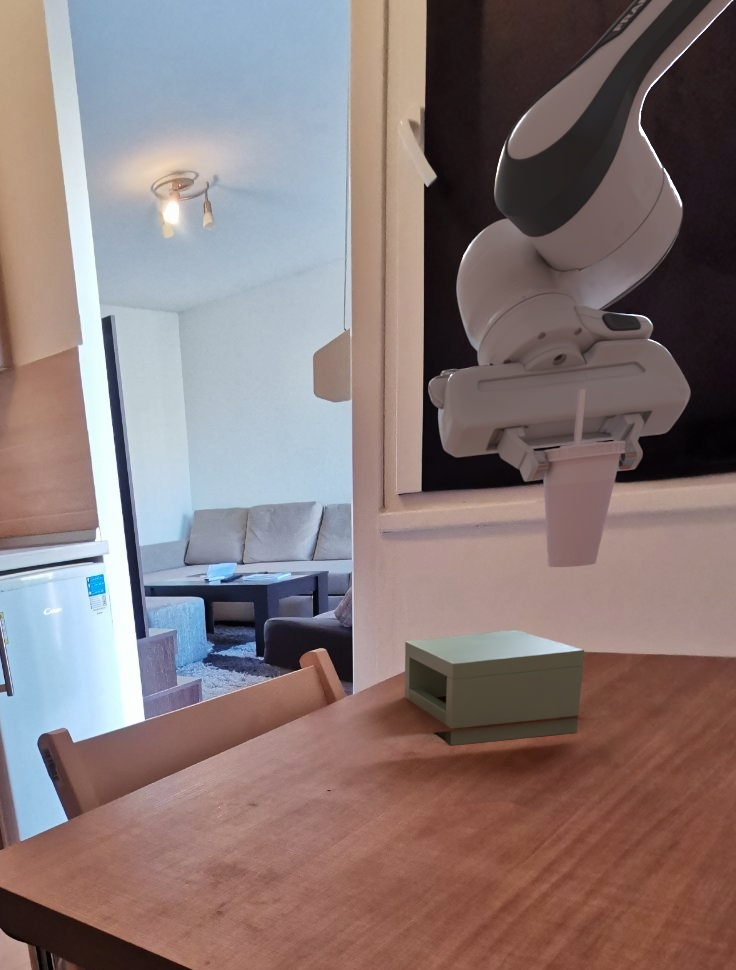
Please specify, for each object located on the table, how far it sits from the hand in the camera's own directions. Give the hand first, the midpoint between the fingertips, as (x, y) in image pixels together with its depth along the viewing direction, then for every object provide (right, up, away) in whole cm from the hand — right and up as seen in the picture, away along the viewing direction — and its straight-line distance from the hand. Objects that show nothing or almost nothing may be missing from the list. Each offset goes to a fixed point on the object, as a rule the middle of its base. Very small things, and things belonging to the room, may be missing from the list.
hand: (584, 469), depth 64 cm
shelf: (-2, -20, +15) cm, 25 cm away
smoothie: (+1, -7, +3) cm, 8 cm away
